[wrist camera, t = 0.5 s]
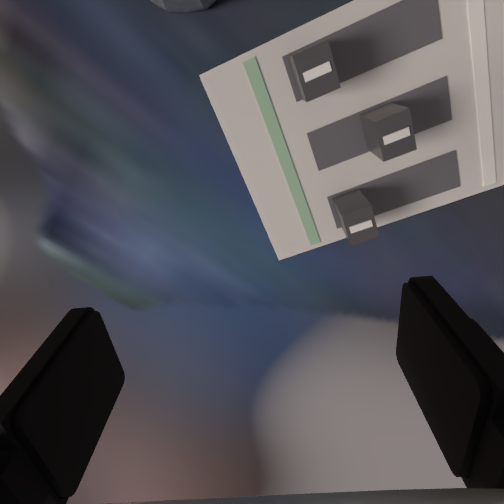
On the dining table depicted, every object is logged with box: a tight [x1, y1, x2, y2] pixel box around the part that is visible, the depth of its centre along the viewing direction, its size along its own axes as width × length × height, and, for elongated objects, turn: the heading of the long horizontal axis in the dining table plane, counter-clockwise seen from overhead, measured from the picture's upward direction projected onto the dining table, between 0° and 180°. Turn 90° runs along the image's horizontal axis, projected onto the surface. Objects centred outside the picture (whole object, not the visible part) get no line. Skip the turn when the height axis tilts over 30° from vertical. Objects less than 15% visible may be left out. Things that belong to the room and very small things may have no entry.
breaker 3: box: [360, 103, 417, 162], centre depth 26 cm, size 2×3×4 cm
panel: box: [199, 0, 504, 260], centre depth 28 cm, size 24×18×2 cm
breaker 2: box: [332, 189, 379, 246], centre depth 29 cm, size 2×3×4 cm
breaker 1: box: [288, 39, 341, 102], centre depth 24 cm, size 2×3×4 cm
